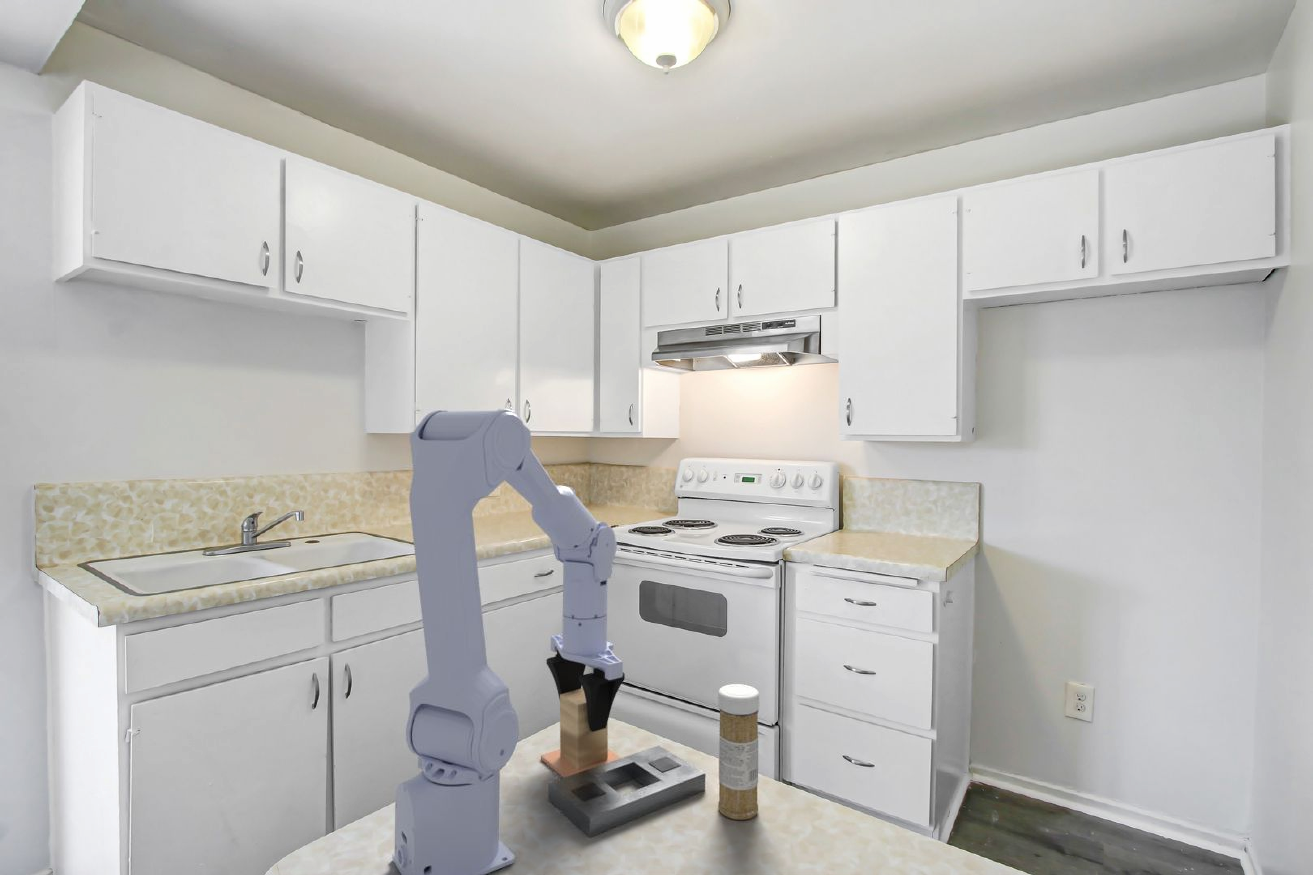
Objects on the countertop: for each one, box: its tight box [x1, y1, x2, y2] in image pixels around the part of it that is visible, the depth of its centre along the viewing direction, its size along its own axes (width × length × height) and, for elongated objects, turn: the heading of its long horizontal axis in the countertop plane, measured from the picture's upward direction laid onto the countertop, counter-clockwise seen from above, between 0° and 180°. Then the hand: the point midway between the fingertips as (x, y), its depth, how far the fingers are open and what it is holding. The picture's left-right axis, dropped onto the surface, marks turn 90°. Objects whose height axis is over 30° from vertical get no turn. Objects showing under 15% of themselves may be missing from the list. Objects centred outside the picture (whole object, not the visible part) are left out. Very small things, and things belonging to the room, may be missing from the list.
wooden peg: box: [559, 687, 609, 770], centre depth 85 cm, size 4×4×8 cm
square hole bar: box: [547, 745, 706, 838], centre depth 77 cm, size 16×9×2 cm, turn 127°
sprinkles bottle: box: [717, 683, 760, 821], centre depth 74 cm, size 5×5×14 cm
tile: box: [540, 749, 622, 778], centre depth 85 cm, size 8×8×1 cm
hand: (583, 719), depth 85 cm, fingers open, 6 cm apart
